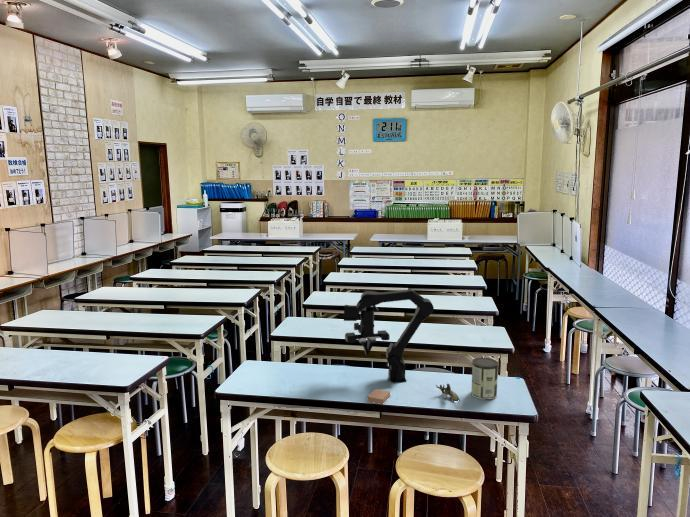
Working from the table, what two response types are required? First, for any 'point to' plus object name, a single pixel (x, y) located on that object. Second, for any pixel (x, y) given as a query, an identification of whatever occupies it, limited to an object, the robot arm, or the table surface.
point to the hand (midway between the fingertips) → (367, 355)
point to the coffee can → (484, 378)
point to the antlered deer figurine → (448, 392)
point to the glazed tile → (379, 396)
